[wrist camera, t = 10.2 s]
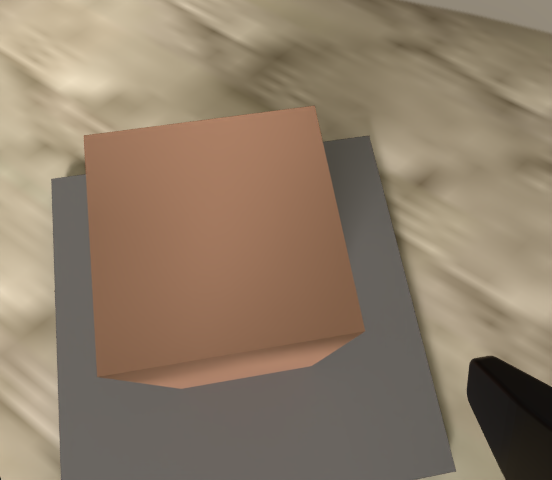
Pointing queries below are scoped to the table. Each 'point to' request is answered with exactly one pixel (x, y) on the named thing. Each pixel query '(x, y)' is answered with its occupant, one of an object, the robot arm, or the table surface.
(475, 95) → the table surface
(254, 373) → the terracotta block
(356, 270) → the rubber mat
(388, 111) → the table surface
